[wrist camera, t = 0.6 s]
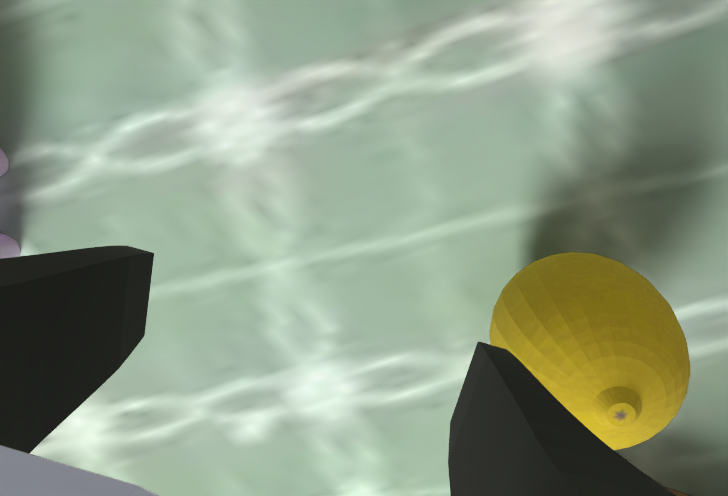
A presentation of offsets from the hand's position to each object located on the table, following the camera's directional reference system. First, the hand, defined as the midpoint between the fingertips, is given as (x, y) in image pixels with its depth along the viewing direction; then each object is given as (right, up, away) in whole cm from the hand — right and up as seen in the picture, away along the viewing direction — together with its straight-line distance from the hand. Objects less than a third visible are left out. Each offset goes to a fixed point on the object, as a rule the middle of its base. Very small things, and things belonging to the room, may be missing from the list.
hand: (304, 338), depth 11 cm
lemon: (+9, 0, +9) cm, 13 cm away
